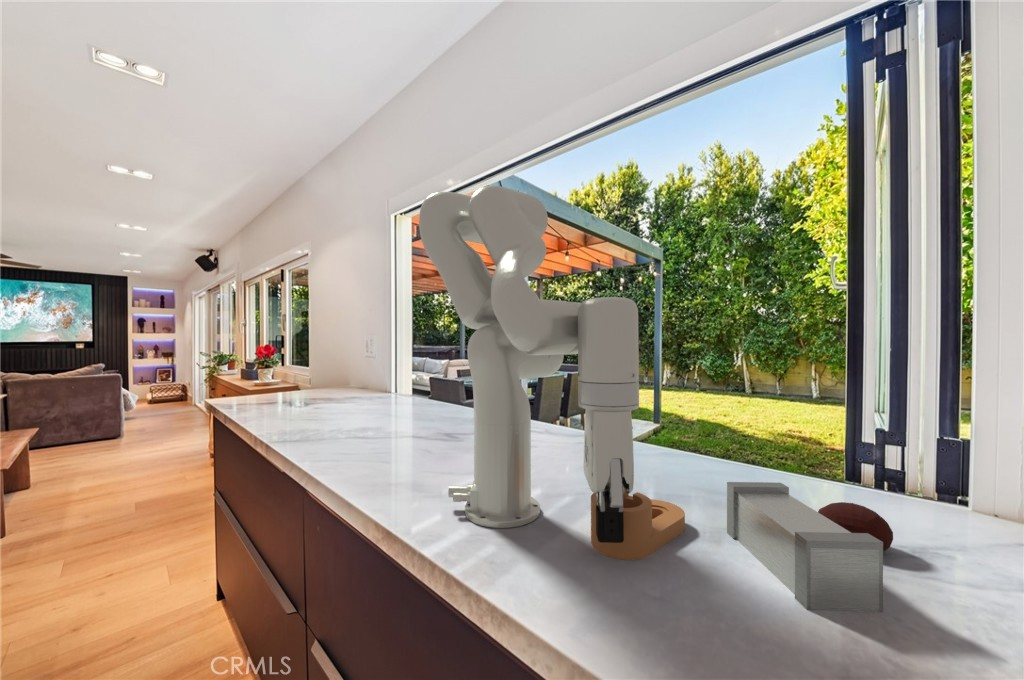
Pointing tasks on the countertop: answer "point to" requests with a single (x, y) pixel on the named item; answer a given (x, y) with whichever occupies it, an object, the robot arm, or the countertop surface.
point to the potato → (859, 521)
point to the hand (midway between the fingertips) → (609, 539)
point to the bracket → (641, 527)
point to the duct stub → (806, 549)
